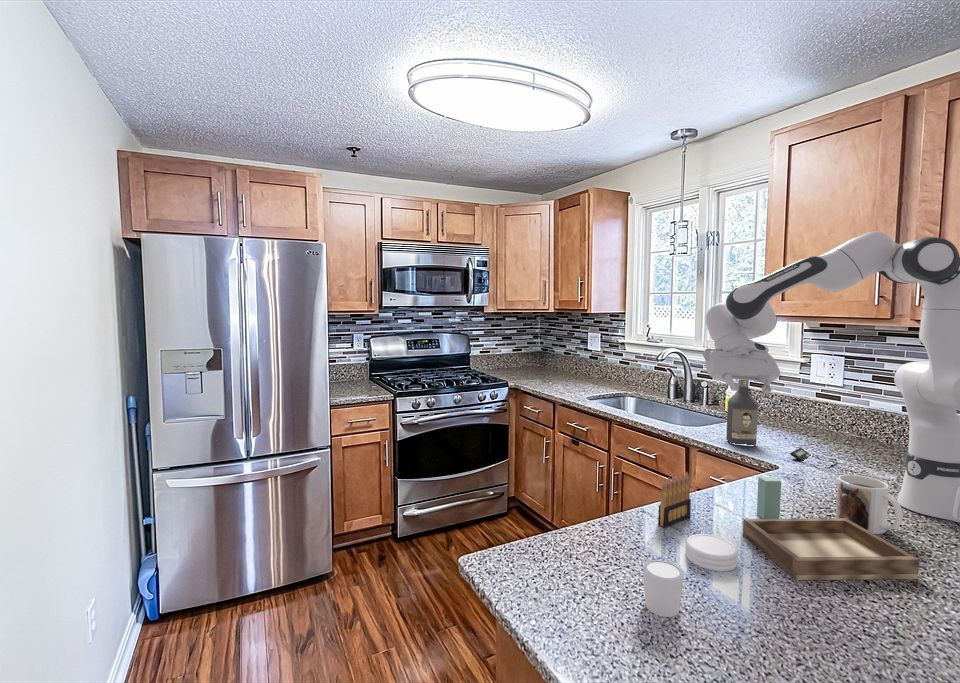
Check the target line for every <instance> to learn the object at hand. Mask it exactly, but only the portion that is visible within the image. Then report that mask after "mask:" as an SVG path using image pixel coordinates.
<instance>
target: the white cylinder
mask: <svg viewBox="0 0 960 683" xmlns="http://www.w3.org/2000/svg"><path fill="white" fill-rule="evenodd" d="M642 573H643V576H642V577H643V589H644V590H643V591H644V604H645V607H646V609H647V610H649V612H650V613H652V614H654V615H656V616H659V617H662V618H663V617H664V618H673V617H676V616H677V615H678V614H679V612H680V604H681V598H682V590H683V584H684V578H685V572H684V571H683V569H682V568H680V567H679V566H678V565H677V564H675V563H672V562H671V561H665V560H661V559H653V560H652V559H651V560H647V561H646V562H644V563H643V566H642Z"/></svg>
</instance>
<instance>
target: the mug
mask: <svg viewBox="0 0 960 683" xmlns="http://www.w3.org/2000/svg"><path fill="white" fill-rule="evenodd" d="M836 489H837V491H836V503H835V504H836V508H835V518H846V519H848V520H850V521H852V522H853V523H855V524H857V525H859V526H860V527H862V528H864V529H866V530H868V531H869V532H871V533H873V534H875V535H881V534H884V533H886V532H887V531H890V530H895V529H897V528H898V527H900V525H901V524H902V522H903V517H904V514H903V513H904V512H903V509H902V506H901V505H900V504H899V502H898V501H897V498H895V496H893V495H891V494H889V492H890V486H889V484H888V483H886V482H885V481H882V480H879V479H877V478H874V477H870V476H865V475H858V474H841V475H839V476H837V488H836ZM889 502H890V503H891V505H892V506H893V508H894V511H895V519H894V522H893V523H892V524H891V525H887V524H888V509H889Z"/></svg>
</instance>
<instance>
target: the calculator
mask: <svg viewBox="0 0 960 683" xmlns="http://www.w3.org/2000/svg"><path fill="white" fill-rule="evenodd" d="M789 455H790V456H792V457H793V458H795V459H796V460H798V461H799V460H800V461H804V460H805V459H807V458H808V457H809V456H811V455H812V454H810V453H809V452H808V451H806V450H805V449H803V448H802V447H800V448H797V449H795V450H793V451H792V452H790V453H789ZM800 461H799V462H800Z"/></svg>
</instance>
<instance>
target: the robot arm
mask: <svg viewBox="0 0 960 683" xmlns="http://www.w3.org/2000/svg"><path fill="white" fill-rule="evenodd" d="M876 273H878V274H880V275H882V276H883V277H885V278H886V279H888V280H890V281H891V282H892V283H897V284H903V285H904V284H905V285H907V284H918V285H919V286H920V288H922V291H923V292H922V293H923V297H924V298H923V303H922V310H921V315H920V316H921V317H920V323H919V324H920V325H919V333H918V337H919V338H918V339H919V341H920V343H921V344H922V345H923V346H924V347H925V350H926V353H927V358H928V360H920V361H919V360H918V361H911V362H907V363H904V364H902V365H901V366H899V367H898V369H897V370H896V371H895V373H894V376H893V381H894V384H895V388H897V389H898V391H899V392H900V394H901V396H902V398H903V401H904V404H905V409H906V414H907V416H908V418H907V419H908V424H909V428H908V429H909V433H908V434H909V436H908V450H907V451H906V453H905V458H904V459H905V462H904V465H905V471H904V474H903V475H904V476H903V480H902V483H901V484H902V485H901V488H900V491H898V495H897V496H898V497H897V498H896V500H897V501H898V502H899V504H900V506H901V507H903V508H905V509H907V510H910V511H912V512H915V513H919V514H921V515H924V516H925V515H926V516H928V517H929V516H930V517H933V518H936V519H937V518H938V519H943V520H949V521H952V522H955V523H956V522H957V523H958V524H960V418H959V416H958V413H957V411H960V253H959V250H958V248H957V247H956V245H955V244H954V243H952V242H951V240H948V239H945V238H942V237H936V236H935V237H933V236H929V237H923V238H919V239H918V238H917V239H915V240H909V241H907V242H904V243H898V242H895V241H894V239H893V238H892V237H891V236H889V235H888V234H887V233H885V232H882V231H879V230H878V231H876V230H874V231H869V232H866V233H864V234H860V235H858V236H856V237H854V238H852V239H850V240H847V241H846V242H844V243H842V244H840V245H838V246H837V247H834V248H833V249H831V250H830V251H828V252H825V253H823V254H821V255H817V256H815V255H814V256H808V257H805V258H802V259H799V260H797V261H794V262H792V263H791V264H789V265H786V266H785V267H782V268H780V269H778V270H776V271H773V272H772V273H770V274H767V275H765V276H763V277H761V278H759V279H757V280H752V281H750V282H746V283H742V284H740V285H738V286H736V287H734V288H733V289H732V290H731V291H730V292H729V294H728V295H727V298H726V300H725V301H726V303H724V302H721V303H717V304H715V305H713V306H711V307H710V308H709V309H708V311H707V312H706V315H705V323H706V327H707V330H708V333H709V335H710V338H711V339H712V340H713V342H714V348H705V349H704V350H702V355H703V358H704V362H705V367H706V371H707V374H708V375H709V377H711V378H714V379H722V381H723V382H724V383H725V384H726V385H728V386H729V389H730V390H731V392H737V391H738V390H739V388H740V387H739V382H736V381H735V380H738V381H739V380H749V381H754V382H755V381H756V382H761V384H763V385H762V386H761V391H762V393H763V394H770V393H771V392H772V387H771V383H773V382H775V381H776V380H777V379H778V378H779V377H780V375H781V370H780V368H779V366H778V363H777V362H776V360H775V359H774V356H772V355H771V354H770V353H769V351H770V350H769V347H768V346H767V345H764V344H761V343H758V342H756V341H754V340H753V339H755V338H760V337H763V336H765V335H767V334H769V333H771V332H772V331H773V330H774V329H775V327H776V325H777V324H778V323H777V322H778V318H777V316H776V313H775V310H774V308H773V307H772V305H771V304H770V301H771V300H772V299H773V298H774V297H776V296H779V295H781V294H782V293H785V292H787V291H789V290H791V289H794V288H795V287H798V286H800V285H805V284H806V285H807V284H810V285H812V286H815V287H817V288H818V289H821V290H823V291H827V292H840V291H843V290H846V289H849V288H850V287H853V286H854V285H856V284H859V283H860V282H862V281H863V280H866V279H867V278H868V277H870V276H871V275H875V274H876Z"/></svg>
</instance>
